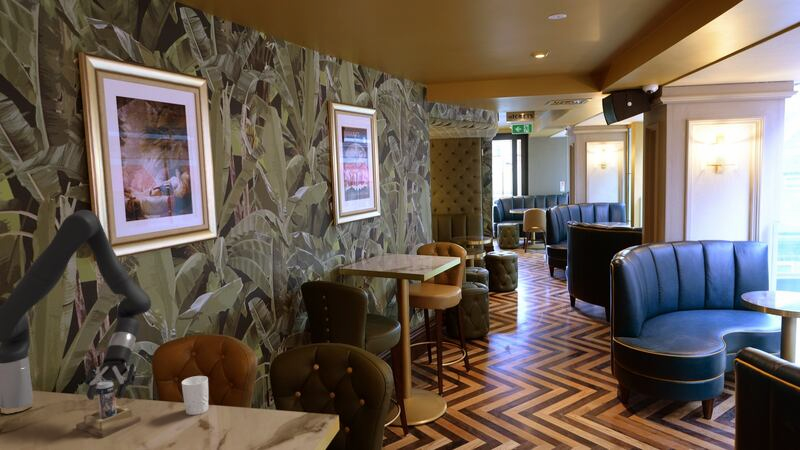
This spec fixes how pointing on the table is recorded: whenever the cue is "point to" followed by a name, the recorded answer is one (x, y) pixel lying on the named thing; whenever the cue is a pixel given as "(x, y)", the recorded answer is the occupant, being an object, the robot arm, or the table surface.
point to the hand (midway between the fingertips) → (103, 398)
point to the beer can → (106, 399)
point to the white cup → (195, 394)
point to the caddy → (108, 422)
